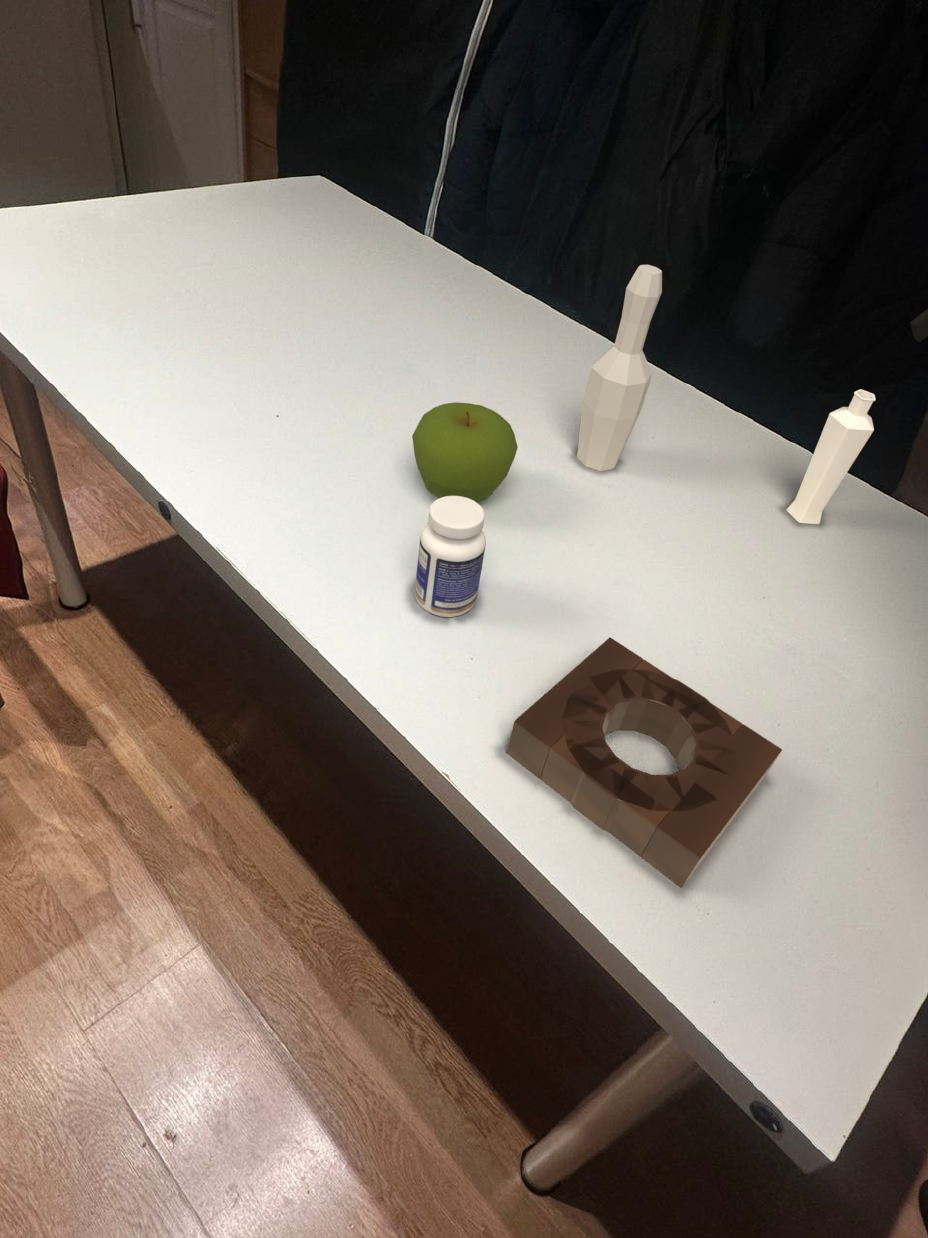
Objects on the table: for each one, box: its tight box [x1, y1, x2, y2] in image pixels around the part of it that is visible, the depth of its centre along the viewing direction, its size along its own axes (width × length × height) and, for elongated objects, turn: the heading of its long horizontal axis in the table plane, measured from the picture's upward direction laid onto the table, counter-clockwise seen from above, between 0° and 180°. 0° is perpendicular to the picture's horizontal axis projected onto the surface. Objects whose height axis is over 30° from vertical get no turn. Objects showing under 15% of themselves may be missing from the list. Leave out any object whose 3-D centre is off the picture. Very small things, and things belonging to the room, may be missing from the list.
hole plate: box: [505, 637, 783, 889], centre depth 63 cm, size 16×13×4 cm
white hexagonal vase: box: [785, 388, 876, 525], centre depth 87 cm, size 5×4×15 cm
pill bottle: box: [414, 496, 487, 618], centre depth 72 cm, size 6×6×10 cm
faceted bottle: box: [576, 264, 663, 472], centre depth 88 cm, size 6×6×22 cm
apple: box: [411, 401, 519, 502], centre depth 84 cm, size 11×10×10 cm
